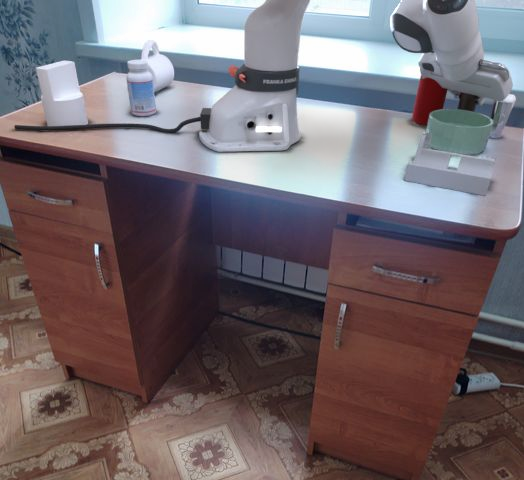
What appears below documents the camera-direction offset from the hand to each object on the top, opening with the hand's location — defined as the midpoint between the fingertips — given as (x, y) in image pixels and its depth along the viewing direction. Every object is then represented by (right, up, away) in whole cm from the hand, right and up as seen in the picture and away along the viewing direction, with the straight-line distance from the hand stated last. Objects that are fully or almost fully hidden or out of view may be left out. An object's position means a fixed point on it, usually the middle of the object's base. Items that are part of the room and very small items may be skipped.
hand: (469, 99), depth 117 cm
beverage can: (-8, -3, +7) cm, 11 cm away
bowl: (-6, -13, -5) cm, 15 cm away
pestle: (-1, -5, +4) cm, 6 cm away
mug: (-79, +13, +22) cm, 83 cm away
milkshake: (+6, -8, +1) cm, 10 cm away
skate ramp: (-12, -24, -19) cm, 33 cm away
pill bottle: (-78, 0, +6) cm, 78 cm away
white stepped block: (-93, -6, -1) cm, 93 cm away
